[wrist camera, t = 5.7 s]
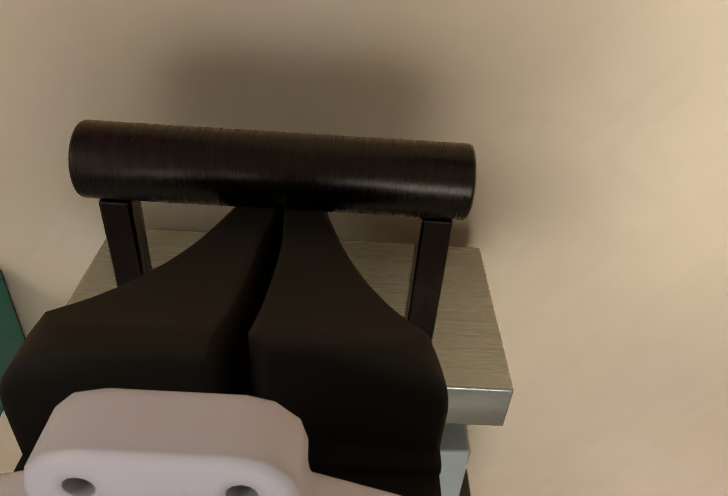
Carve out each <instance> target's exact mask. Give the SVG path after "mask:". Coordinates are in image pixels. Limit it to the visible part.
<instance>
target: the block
mask: <svg viewBox="0 0 728 496" xmlns="http://www.w3.org/2000/svg"><path fill="white" fill-rule="evenodd" d="M24 340H25V339H24V336H23V333H22V330H21V327H20V325H19V322H18V319H17V316H16V313H15V311H14V308H13V305H12V302H11V299H10V297H9V294H8V291H7V288H6V285H5V282H4V280H3V277H2V274H1V271H0V382H1V378H2V375H3V374H4V372H5V371H6V369H7V367H8V366H9V364H10V363H11V361H12V359H13V358H14V356H15V355H16V353H17V351H18V350H19V348H20V347H21V345H22V344H23V342H24ZM3 411H4V409H3V406H2V403H1V398H0V416H1V414H2V412H3Z"/></svg>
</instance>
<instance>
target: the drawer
mask: <svg viewBox="0 0 728 496" xmlns="http://www.w3.org/2000/svg"><path fill="white" fill-rule="evenodd" d="M68 159H69V172H70V177H71V181H72V184H73V186H74V188H75V190H76V192H77V193H78V194H79V195H81V196H83V197H85V198H98V199H100V201H99V206H100V210H101V215H102V220H103V224H104V229H105V233H106V240H105V241H104V243H103V245H102V246H101V248H100V250H99V251H98V253H97V255H96V256H95V258H94V260H93V261H92V263H91V265H90V266H89V268H88V270H87V271H86V273H85V275H84V276H83V278H82V280H81V281H80V283H79V285H78V286H77V288H76V290H75V291H74V293H73V295H72V297H71V298H70V300H69V302H68V303H67V305H70V304H73V303H76V302H79V301H82V300H85V299H88V298H91V297H94V296H96V295H99V294H102V293H104V292H107V291H109V290H111V289H114V288H116V287H119V286H121V285H123V284H125V283H128V282H130V281H132V280H134V279H136V278H138V277H140V276H142V275H144V274H146V273H147V272H149V271H151V270H153V269H155V268H157V267H158V266H160V265H162V264H164V263H166V262H167V261H169V260H171V259H172V258H174V257H175V256H177V255H178V254H180V253H181V252H183V251H184V250H186V249H187V248H189V247H190V246H192V245H193V244H194V243H196V242H197V241H198V240H199V239H200V238H202V237H203V236H204V235H205V234H206V233H208V232H194V231H177V230H160V229H145V224H144V218H143V213H142V207H141V201H149V202H166V203H183V204H200V205H217V206H234V207H251V208H268V209H285V210H302V211H319V212H336V213H353V214H369V215H386V216H403V217H418V224H417V231H416V238H415V244H403V243H386V242H368V241H351V240H340V242H341V244H342V246H343V248H344V250H345V251H346V253H347V255H348V256H349V258H350V260H351V261H352V263H353V264H354V265H355V267H356V268H357V270H358V271H359V273H360V274H361V275H362V276H363V278H364V279H365V280H366V281H367V283H368V284H369V285H370V286H371V287H372V289H373V290H374V291H375V292H376V293H377V294H378V295H379V296H380V297H381V298H382V299H383V300H384V301H385V302H386V303H387V304H388V305H389V306H390V307H392V308H393V309H394V310H395V311H396V312H397V313H399V314H400V315H401V316H403V317H404V318H406V319H407V320H408V321H410V322H411V323H413V324H414V325H416V326H417V327H419V328H420V329H422V330H423V331H424V332H426V333H427V334H428V336H429V338H430V340H431V342H432V345H433V347H434V349H435V352H436V354H437V357H438V359H439V362H440V365H441V368H442V371H443V375H444V378H445V382H446V385H447V391H448V413H447V418H446V422H445V427H444V431H443V436H442V440H441V444H440V454H441V463H442V467H441V474H440V475H439V476H440V486H441V496H459V493H460V489H461V486H462V482H463V478H464V474H465V471H466V467H467V463H468V460H469V456H470V452H471V451H470V444H469V438H468V431H467V425H466V424H474V425H494V426H502V425H503V423H504V420H505V416H506V413H507V410H508V406H509V403H510V400H511V397H512V393H513V386H512V382H511V378H510V374H509V369H508V365H507V361H506V357H505V353H504V349H503V344H502V340H501V336H500V332H499V328H498V324H497V320H496V315H495V311H494V307H493V303H492V299H491V295H490V291H489V286H488V282H487V278H486V274H485V270H484V266H483V262H482V257H481V253H480V249H479V248H473V247H455V246H449V244H450V239H451V233H452V228H453V219H454V220H464V219H466V218H467V217H468V216H469V213H470V211H471V208H472V204H473V199H474V193H475V185H476V156H475V151H474V148H473V146H472V145H471V144H466V143H450V142H434V141H418V140H402V139H386V138H370V137H355V136H339V135H323V134H307V133H291V132H275V131H259V130H243V129H227V128H211V127H195V126H179V125H164V124H148V123H132V122H116V121H100V120H83V121H81V122H79V123H78V124H77V126H76V127H75V129H74V131H73V133H72V136H71V140H70V145H69V157H68ZM67 305H66V306H67Z"/></svg>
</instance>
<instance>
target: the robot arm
mask: <svg viewBox="0 0 728 496" xmlns="http://www.w3.org/2000/svg"><path fill="white" fill-rule="evenodd" d="M0 398H1V403H2V406H3V409H4V411H5V414H6V416H7V418H8V421H9V423H10V425H11V428H12V430H13V433H14V435H15V437H16V440H17V442H18V445H19V447H20V449H21V452H22V454H23V455H22V457H21V459H20V461H19V462H18V464H17V466H16V468H15V470H14V472H12V473H7V474H1V475H0V496H441V486H440V476H439V475H440V474H441V467H442V463H441V454H440V444H441V440H442V436H443V431H444V427H445V422H446V418H447V413H448V391H447V385H446V382H445V378H444V375H443V371H442V368H441V365H440V362H439V359H438V357H437V354H436V352H435V349H434V347H433V345H432V342H431V340H430V338H429V336H428V334H427V333H426V332H424V331H423V330H422V329H420V328H419V327H417V326H416V325H414V324H413V323H411V322H410V321H408V320H407V319H406V318H404V317H403V316H401V315H400V314H399V313H397V312H396V311H395V310H394V309H393V308H392V307H390V306H389V305H388V304H387V303H386V302H385V301H384V300H383V299H382V298H381V297H380V296H379V295H378V294H377V293H376V292H375V291H374V290H373V289H372V287H371V286H370V285H369V284H368V283H367V281H366V280H365V279H364V278H363V276H362V275H361V274H360V273H359V271H358V270H357V268H356V267H355V265H354V264H353V263H352V261H351V260H350V258H349V256H348V255H347V253H346V251H345V250H344V248H343V246H342V244H341V242H340V240H339V238H338V236H337V234H336V232H335V230H334V228H333V225H332V223H331V221H330V218H329V216H328V213H327V212H319V211H302V210H285V209H268V208H251V207H235V208H233V209H232V210H231V211H230V212H229V213H228V214H227V215H226V216H225V217H224V218H223V219H222V220H221V221H220V222H219V223H218V224H217V225H216V226H215V227H213V228H212V229H211V230H210V231H209V232H208V233H206V234H205V235H204V236H203V237H202V238H200V239H199V240H198V241H197V242H196V243H194V244H193V245H192V246H190V247H189V248H187V249H186V250H184V251H183V252H181V253H180V254H178V255H177V256H175V257H174V258H172V259H171V260H169V261H167V262H166V263H164V264H162V265H160V266H158V267H157V268H155V269H153V270H151V271H149V272H147V273H146V274H144V275H142V276H140V277H138V278H136V279H134V280H132V281H130V282H128V283H125V284H123V285H121V286H119V287H116V288H114V289H111V290H109V291H107V292H104V293H102V294H99V295H96V296H94V297H91V298H88V299H85V300H82V301H79V302H76V303H73V304H70V305H67V306H64V307H60V308H57V309H54V310H51V311H47V312H45V313H44V315H43V316H42V317H41V319H40V320H39V321H38V322H37V324H36V325H35V326H34V327H33V329H32V330H31V331H30V333H29V334H28V336H27V337H26V339H25V340H24V342H23V344H22V345H21V347H20V348H19V350H18V351H17V353H16V355H15V356H14V358H13V359H12V361H11V363H10V364H9V366H8V367H7V369H6V371H5V372H4V374H3V375H2V378H1V382H0Z"/></svg>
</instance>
